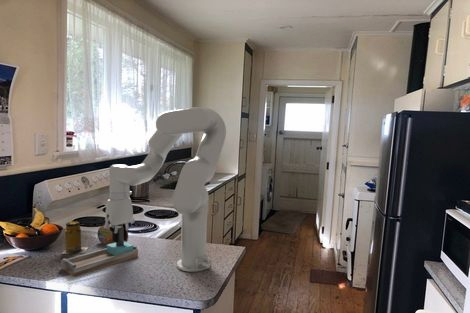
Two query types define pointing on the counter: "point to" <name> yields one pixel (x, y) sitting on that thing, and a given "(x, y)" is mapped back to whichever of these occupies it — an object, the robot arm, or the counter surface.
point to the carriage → (119, 244)
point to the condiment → (73, 238)
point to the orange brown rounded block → (106, 235)
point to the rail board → (95, 261)
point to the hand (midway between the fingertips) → (119, 240)
